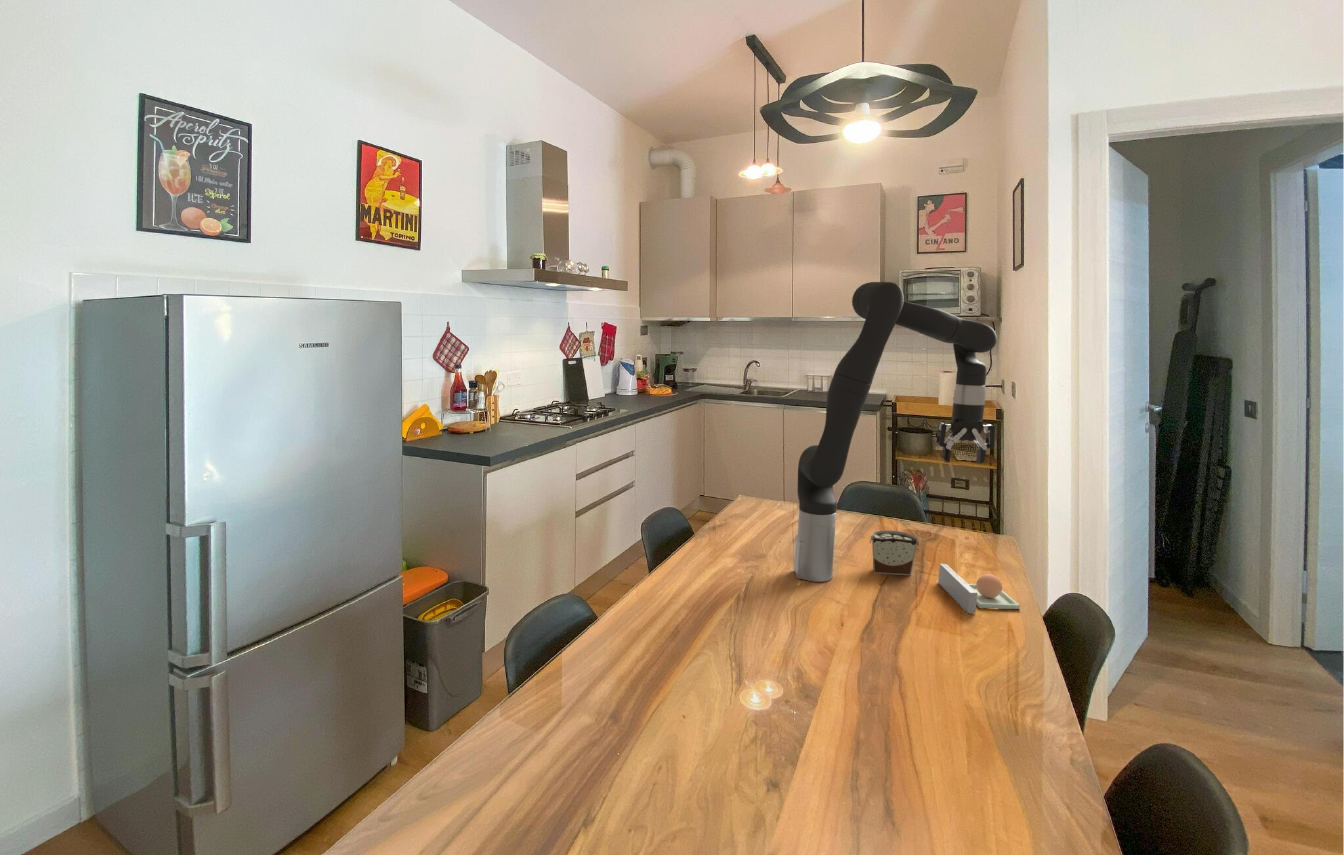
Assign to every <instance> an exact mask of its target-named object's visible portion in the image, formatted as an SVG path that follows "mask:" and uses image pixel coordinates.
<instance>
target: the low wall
mask: <svg viewBox="0 0 1344 855" xmlns="http://www.w3.org/2000/svg"><path fill="white" fill-rule="evenodd" d="M938 568H939V569H938V570H939V571H938V581H937V583H938V585H940V587H942V588H943V589H944V591H946V592H948V593H947V594H948V595H949V596H950V597H951V596H952V597H951V598H952V599H953V598H954V599H953V600H954V601H955V600H956V601H955V602H956V603H957V604H958V605H959V604H960V605H959V606H960V607H961V608H962V610H964V609H965V610H964V612H966V611H967V612H966V614H968V613H975V614H976V610H977V606H976V602H977V592H976V591H975V590H974V589H973V588H972V587H971V586H969V585H968V584H969V583H968V582H966V580H964V579H963V578H962V577H961V576H960V575H959V574H958V573H957V572H955V570H953V569H952V568H951V567H950V566H949V565H948V564H947V563H939V567H938Z"/></svg>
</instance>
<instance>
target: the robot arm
mask: <svg viewBox="0 0 1344 855" xmlns="http://www.w3.org/2000/svg"><path fill="white" fill-rule="evenodd" d="M851 305H852V308H853V310H854V313H855V314H856V315H857V316H858V317H860V318H862V319H863V320H864V322H863V326H862V328H861V331H860V334H859V336H858V337H857V339H856V340H855V342H854V343H853V345H852V346H851V347H850V349H849V350H848V351H847V352H846V353H845V355H843V357H842V358H841V360H840V361H839V362H838V364H837V365H836V368H835V371H834V372H833V376H832V377H831V378H832V379H831V382H830V385H829V387H828V391H827V396H826V397H827V398H826V403H825V404H826V407H825V408H826V410H825V422H824V423H825V424H824V428H823V431H822V435H821V437H820V440H819V442H818V444H814V445H811V446H808V447H807V448H805V449H804V450H803V452H801V454H800V457H799V460H798V465H797V497H798V503H799V504H798V507H799V508H798V521H797V523H798V524H797V534H796V535H795V546H794V548H795V549H794V560H793V561H794V564H793V571H794V573H795V576H796V578H797V580H798V579H799V580H804V581H809V582H814V583H815V582H816V583H817V582H819V583H820V582H821V583H822V582H828V581H831V580H832V579H833V572H834V560H835V559H834V556H835V544H836V543H835V541H836V540H835V539H836V528H837V526H836V524H837V522H836V521H837V512H838V511H837V510H838V502H837V499H836V496H835V494H834V493H835V491H834V486H835V485H836V484H837V483H838V482H839V481H840V479H841V478H842V476H843V475H844V471H845V468H846V463H847V459H848V455H849V451H850V446H851V444H852V441H853V440H852V439H853V436H854V433H855V430H856V428H857V425H858V422H859V419H860V417H861V413H862V412H863V408H864V406H865V403H866V402H867V398H868V395H869V392H870V390H871V387H872V384H873V380H874V378H875V374H876V372H877V368H878V366H879V364H880V361H881V358H882V356H883V353H884V350H885V347H886V345H887V342H888V340H889V339H890V336H891V334H892V333H893V330H894V328H895V326H896V325H897V326H900V327H903V328H906V329H908V330H910V331H911V330H912V331H913V332H916V333H919V334H921V335H924V336H926V337H929V338H931V339H933V340H938V341H940V342H942V343H946V344H952V346H953V347H952V348H953V352H954V358H955V359H954V360H955V363H956V368H957V369H956V370H957V371H956V378H955V387H954V391H953V397H952V401H953V402H952V411H951V422H950V424H949V423H943V422H939V423H938V425H937V426H938V427H937V432H936V433H937V434H936V439H935V444H936V445H937V446H940V447H941V448H942V456H941V457H942V460H943V461H944V463H947V464H950V463H951V453H952V452H951V451H952V449H951V448H952V447H953V446H954V444H956V443H957V442H959V441H961V442H962V441H963V442H964V441H970V442H973V441H974V443H975V445H977V447H978V448H977V449H976V450H977V451H976V458H975V460H976V462H975V463H976V464H978V465H979V464H980V465H983V463H984V462H985V460H986V451H987V450H988V449H990V448H991V449H993V448H994V447H995V437H996V436H995V432H996V431H995V430H996V426H994V425H993V424H990V423H988V424H983V421H984V415H985V414H984V413H985V404H986V382H987V373H988V372H987V371H988V368H987V365H986V364H985V363H984V362H981V361H979V360H978V357H977V353H978V354H979V353H988V352H989V351H991V350H993V349H994V348H995V346H996V344H997V343H998V336H997V333H996V331H995V330H994V329H993V328H992V327H991V326H990V325H987V324H985V323H983V322H982V323H981V322H979V321H974V320H969V319H966V318H965V319H964V318H961V317H958V316H956V315H954V314H953V313H949V312H946V311H944V310H941V309H939V308H934V307H931V306H928V305H927V306H926V305H924V304H923V305H922V304H918V303H914V302H910V301H907V300H905V299H904V292H903V290H902V288H901V286H900V285H899V284H897V283H896V282H893V281H871V282H866V283H863V284H861V285H860V286H859V287H857V288H856V290H854V292H853V295H852V298H851ZM949 430H950V431H951V433H950V434H949V435H948V436H947V439H945V438H946V434H947V433H948V432H949ZM983 431H984V433H985V442H984V439H983V438H982V436H981V435H980V434H981V433H982V432H983Z"/></svg>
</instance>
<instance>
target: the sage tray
mask: <svg viewBox="0 0 1344 855" xmlns="http://www.w3.org/2000/svg"><path fill="white" fill-rule="evenodd" d="M967 584H968V585H969V586H971V587H972V588H973V589H974V590H975V591H976V592H977V602H976V605H977V606H978V607H979V608H998V609H997V610H999V609H1021V608H1020V606H1021V604H1019V603H1018V602H1017V601H1016V600H1014V598H1012V597H1011V596H1010V595H1008V593H1006V592H1005V591H1004V590H1003V589H1002V591H1001V593H1000V594H999V595H998V596H997V597H995V598H986V597H984V596H982V595H981V594H980V593H979V592H978V590H977V587H976V583H967ZM977 606H976V607H977ZM978 607H977V608H978ZM979 608H978V609H979Z"/></svg>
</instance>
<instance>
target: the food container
mask: <svg viewBox="0 0 1344 855" xmlns="http://www.w3.org/2000/svg"><path fill="white" fill-rule="evenodd" d="M870 536H871V537H870V539H869V544H871V543H872V544H871V545H872V568H873V572H872V573H873V574H881V575H882V574H883V575H897V576H898V575H899V576H900V575H901V576H902V575H903V576H912V571H913V565H914V560H915V557H916V556H915V555H916V551H917V546H918V547H920V540H919V539H918V538H919V537H917V536H915V535H914V534H912V533H911V534H910V533H908V532H904V531H900V530H899V531H898V530H891V529H890V530H885V529H884V530H877V531H874V532H873V533H872V535H870Z"/></svg>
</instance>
